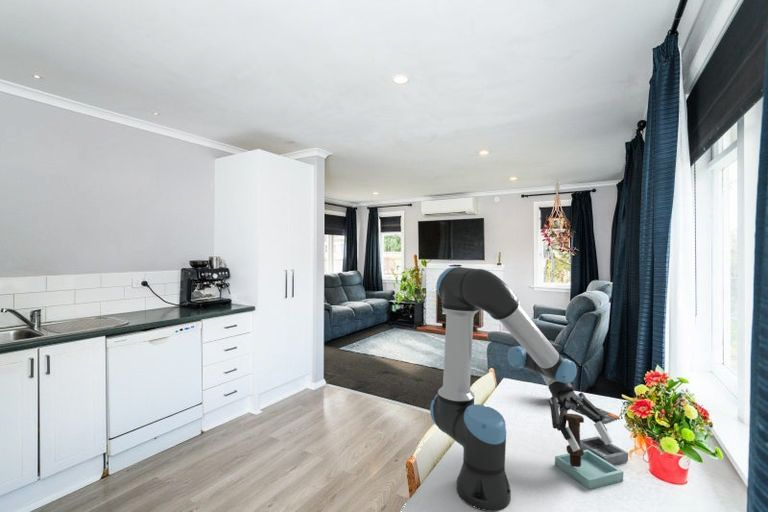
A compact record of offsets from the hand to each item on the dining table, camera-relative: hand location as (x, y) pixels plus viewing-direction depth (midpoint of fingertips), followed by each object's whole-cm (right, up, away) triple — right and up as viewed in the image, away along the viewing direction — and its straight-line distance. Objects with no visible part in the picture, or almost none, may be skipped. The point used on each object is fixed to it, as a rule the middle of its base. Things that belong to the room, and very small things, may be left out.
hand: (593, 446), depth 114 cm
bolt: (-6, -6, 0) cm, 8 cm away
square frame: (+9, -9, +12) cm, 18 cm away
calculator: (+27, -9, +44) cm, 53 cm away
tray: (-1, -9, +2) cm, 9 cm away
